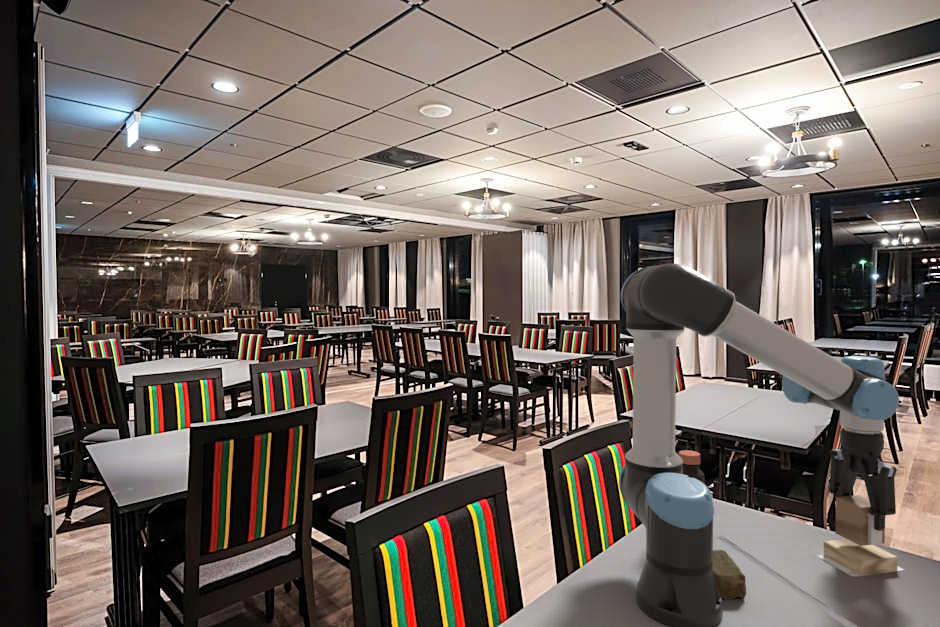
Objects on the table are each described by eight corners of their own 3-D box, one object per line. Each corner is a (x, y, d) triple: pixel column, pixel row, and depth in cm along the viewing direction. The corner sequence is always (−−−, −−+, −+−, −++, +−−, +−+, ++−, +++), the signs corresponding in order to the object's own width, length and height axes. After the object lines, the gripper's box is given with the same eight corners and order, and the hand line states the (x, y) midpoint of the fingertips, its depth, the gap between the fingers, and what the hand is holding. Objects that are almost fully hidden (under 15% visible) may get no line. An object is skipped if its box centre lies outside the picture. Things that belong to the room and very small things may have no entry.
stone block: (724, 571, 113) (725, 548, 113) (748, 602, 102) (748, 577, 102) (696, 570, 114) (697, 547, 114) (716, 601, 102) (717, 575, 102)
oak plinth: (860, 575, 109) (861, 561, 109) (823, 554, 118) (823, 541, 118) (897, 571, 111) (897, 556, 111) (857, 550, 119) (858, 537, 119)
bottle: (708, 533, 131) (709, 453, 130) (696, 542, 126) (697, 459, 125) (681, 525, 136) (682, 447, 135) (669, 533, 131) (669, 452, 130)
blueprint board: (852, 581, 109) (852, 576, 108) (815, 560, 117) (815, 555, 117) (905, 574, 111) (905, 569, 111) (865, 554, 120) (865, 549, 120)
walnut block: (860, 545, 110) (861, 507, 110) (835, 533, 116) (836, 497, 116) (884, 543, 112) (885, 505, 111) (858, 530, 117) (859, 495, 117)
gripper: (921, 440, 105) (919, 556, 105) (837, 418, 123) (836, 517, 124) (890, 442, 103) (888, 560, 104) (809, 420, 122) (808, 520, 123)
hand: (860, 536), depth 114 cm, fingers closed on walnut block, 6 cm apart
